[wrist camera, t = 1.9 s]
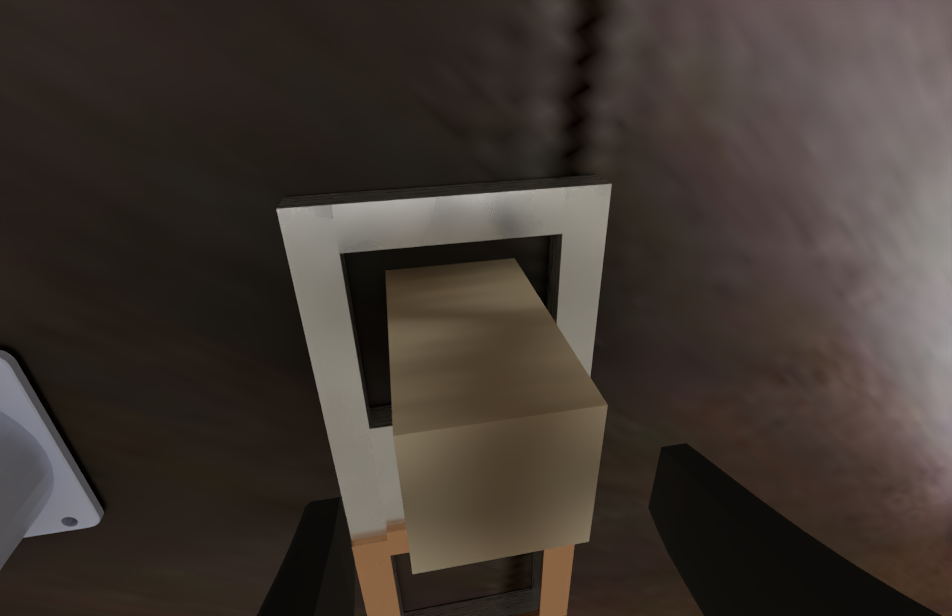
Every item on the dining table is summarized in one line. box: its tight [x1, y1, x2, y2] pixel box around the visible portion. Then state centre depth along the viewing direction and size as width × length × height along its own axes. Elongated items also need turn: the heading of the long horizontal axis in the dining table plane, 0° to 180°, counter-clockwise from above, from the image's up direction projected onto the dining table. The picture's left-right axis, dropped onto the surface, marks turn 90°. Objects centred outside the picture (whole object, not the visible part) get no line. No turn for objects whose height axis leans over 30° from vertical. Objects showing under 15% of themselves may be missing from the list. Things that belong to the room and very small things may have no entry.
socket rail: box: [276, 175, 612, 616], centre depth 21 cm, size 10×24×2 cm, turn 1°
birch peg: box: [385, 258, 608, 574], centre depth 15 cm, size 4×4×8 cm
